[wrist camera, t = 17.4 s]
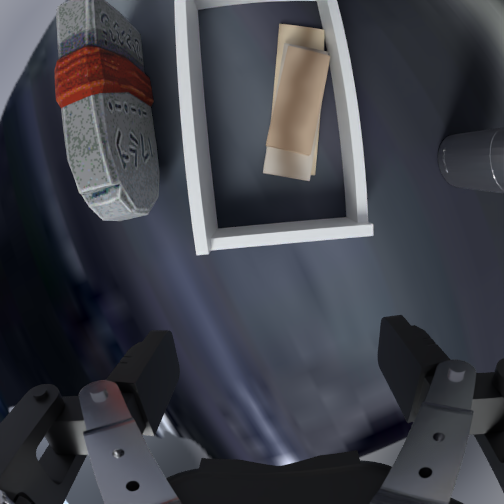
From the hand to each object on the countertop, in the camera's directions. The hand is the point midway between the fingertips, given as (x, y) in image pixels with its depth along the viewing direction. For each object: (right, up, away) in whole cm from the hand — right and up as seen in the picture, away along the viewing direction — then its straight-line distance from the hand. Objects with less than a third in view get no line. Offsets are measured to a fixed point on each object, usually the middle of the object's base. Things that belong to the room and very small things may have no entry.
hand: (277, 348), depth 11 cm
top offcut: (+5, +24, +28) cm, 38 cm away
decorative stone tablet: (-19, +24, +32) cm, 45 cm away
